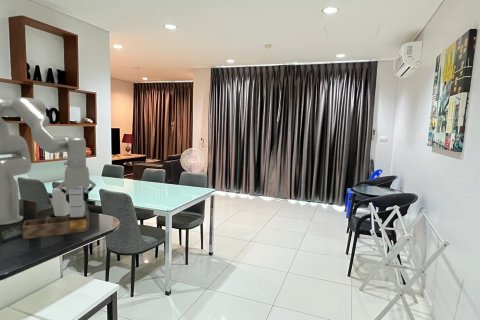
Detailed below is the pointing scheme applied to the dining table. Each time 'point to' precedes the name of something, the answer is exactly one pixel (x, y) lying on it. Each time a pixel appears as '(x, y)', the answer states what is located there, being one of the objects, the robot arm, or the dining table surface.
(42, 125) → the robot arm
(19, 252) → the dining table surface
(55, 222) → the rack
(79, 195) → the syrup box
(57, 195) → the cup
